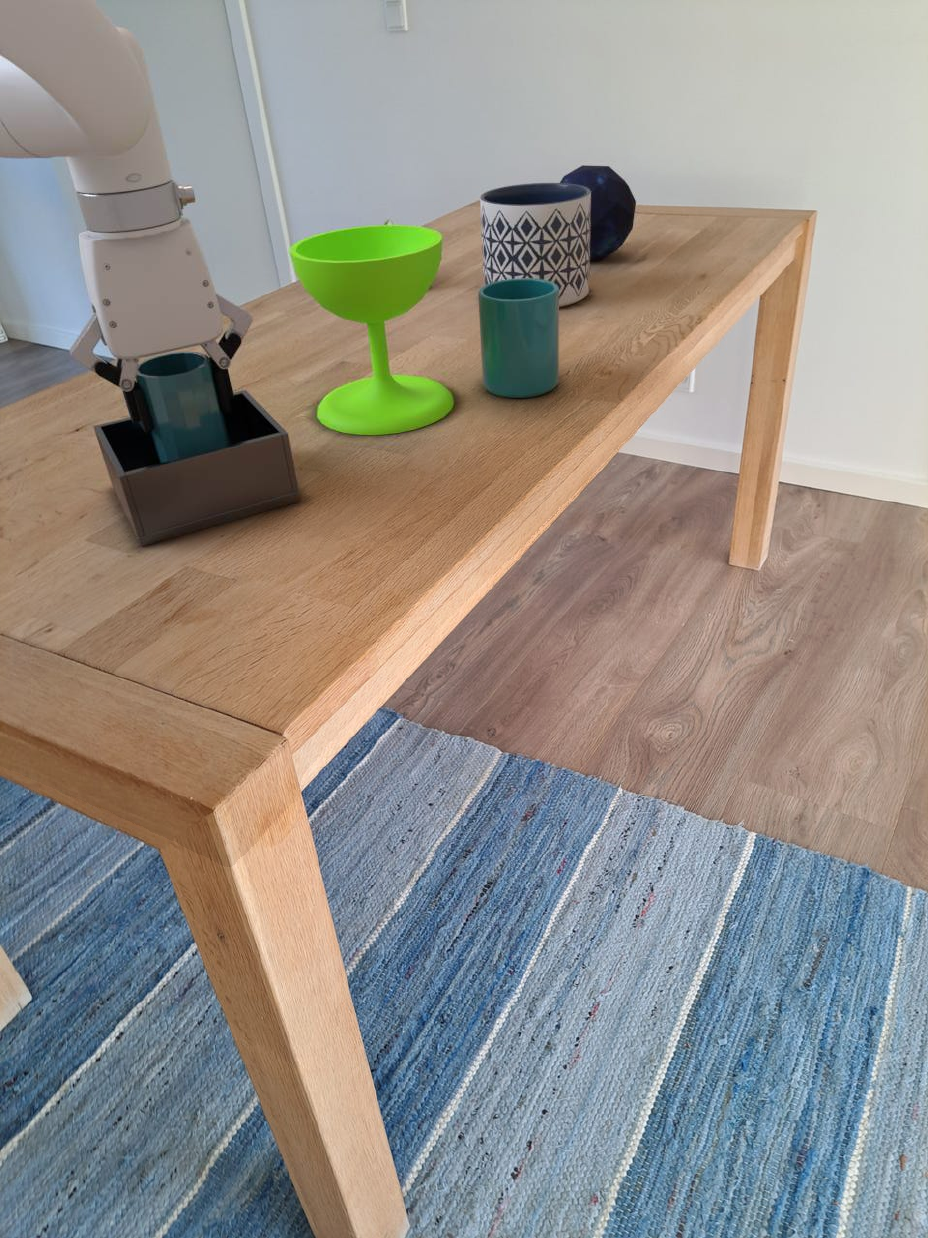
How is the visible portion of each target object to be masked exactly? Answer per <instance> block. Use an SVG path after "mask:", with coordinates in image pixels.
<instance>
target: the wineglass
mask: <svg viewBox="0 0 928 1238" xmlns="http://www.w3.org/2000/svg"><path fill="white" fill-rule="evenodd" d="M442 253H443V236H442V233H441V232H440V231H438V230H436V229H433V228H428V227H424V226H418V225H408V224H392V225H384V224H377V225H376V224H375V225H374V224H373V225H364V226H354V227H346V228H341V229H340V228H339V229H335V230H330V231H325V232H321V233H318V234H314V235H311V236H308V237H305V238H303V239H301V240H298V241H296V242H295V243H294V244H292V245H291V246H290V247H289V255H290V260H291V263H292V266H293V269H294V272H295V275H296V276H297V277H298V279H299V281H300V282H301V284H302V286H303V288H304V290H305V291H306V292H307V293H308V295H310V296H311V298H312V299H314V301H316V302H317V303H318V304H319V305H320V306H321V307H322V309H324V310H326V311H327V312H329V313H330V314H333V315H335V316H336V317H338V318H341V319H342V320H347V321H350V322H356V323H360V324H361V323H362V324H366V326H367V334H368V342H369V351H370V358H371V365H372V366H371V367H372V374H373V376H370V377H366V378H361V379H357V380H354V381H351V382H348V383H345V384H343V385H340V386H339V387H337V388H334V389H333V390H332V391H330V392H329V393H327V394H325V396H324V397H323V398H322V399H321V401H320V402H319V404H318V406H317V410H316V411H317V413H316V415H317V416H316V417H317V419H318V421H319V422H320V424H322V425H323V426H325V427H327V428H328V429H330V430H332V431H336V432H340V433H344V434H351V435H356V436H357V435H358V436H383V435H384V436H385V435H391V434H392V435H393V434H400V433H405V432H410V431H413V430H417V429H420V428H424V427H426V426H429V425H432V424H434V423H435V422H437V421H439V420H441V419H443V418H445V416H447V415H448V414H449V413H450V412H451V411H452V409H453V408H454V405H455V400H454V396H453V394H452V392H451V391H450V390H449V389H448V388H447V387H446V386H445V385H444V384H442V383H440V382H439V381H436V380H435V379H432V378H427V377H424V376H419V375H409V374H391V370H390V369H391V368H390V361H389V352H388V343H387V334H386V326H385V322H387V321H390V320H392V319H394V318H397V317H399V316H402V315H404V314H406V313H407V312H409V311H410V310H411V309H412V308H414V307H415V306H416V305H417V304H418V303H420V301H422V300H423V298H424V297H425V295H426V294H427V292H428V290H429V289H430V287H431V286H432V284H433V283H434V281H435V280H436V278H437V274H438V271H439V268H440V264H441V261H442Z"/></svg>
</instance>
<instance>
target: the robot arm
mask: <svg viewBox="0 0 928 1238" xmlns="http://www.w3.org/2000/svg"><path fill="white" fill-rule="evenodd" d="M166 150H167V149H166V145H165V141H164V135H163V133H162V127H161V124H160V120H159V115H158V111H157V106H156V102H155V98H154V93H153V89H152V85H151V81H150V76H149V72H148V67H147V64H146V59H145V56H144V52H143V48H142V46H141V44H140V42H139V40H138V38H137V37H136V36H135V34H134V33H133V32H131V31H130V30H129V29H127V28H125V27H121V26H116V25H115V24H114V23H113V22H112V20H111V19H110V18H109V17H108V15H107V14H106V13H105V12H104V10H103V9H102V8H101V7H100V5H99V4H98V3H97V2H96V1H95V0H0V158H3V159H51V158H65V159H66V163H67V166H68V170H69V173H70V177H71V180H72V183H73V186H74V190H75V191H76V192H75V194H76V197H77V200H78V203H79V207H80V211H81V214H82V218H83V221H84V225H85V227H86V231H83V232H80V233H79V234H78V244H79V255H80V260H81V267H82V271H83V276H84V281H85V285H86V290H87V295H88V298H89V302H90V306H91V309H92V316H91V317H90V319H89V320H88V321H87V323H86V324H85V326H84V327H83V328H82V331H81V332H80V334H79V335H78V337H77V338H76V340H75V341H74V342H73V343H72V345H71V347H70V349H69V354H70V356H71V358H72V359H73V360H74V361H75V362H76V363H78V364H80V365H81V366H82V367H84V368H86V369H88V370H90V371H92V372H93V373H94V374H96V375H98V377H100V378H102V379H104V380H106V381H107V382H109V383H111V384H113V385H114V386H116V387H118V388H119V389H120V390H121V391H122V395H123V398H124V401H125V404H126V408H127V411H128V415H129V417H131V420H132V422H133V423H134V422H138V421H139V423H140V424H141V426H142V428H143V429H144V431H145V432H150V431H151V430H152V429H153V427H152V423H151V420H150V416H149V413H148V409H147V406H146V402H145V399H144V395H143V392H142V390H141V388H140V387H139V385H138V384H137V381H136V372H137V367H138V364H139V363H140V359H142V358H146V357H151V356H157V355H162V354H166V353H171V352H175V351H179V350H183V349H188V348H191V347H197V346H201V348H202V349H203V350H204V352H205V354H206V355H207V356H208V357H209V358H210V362H211V366H212V370H213V375H214V379H215V383H216V388H217V392H218V396H219V401H220V405H221V409H222V411H223V412H225V413H227V412H231V407H230V402H229V399H233V398H234V394H233V393H234V391H233V386H232V381H231V376H230V372H229V368H230V367H231V365H232V360H233V358H234V356H235V355H236V353H237V351H238V350H239V348H240V347H241V346H242V341H243V338H244V337H245V336H246V334H247V332H248V331H249V329H250V328H251V325H252V324H253V321H254V320H253V319H254V318H253V316H252V315H251V314H250V313H249V312H248V311H246V310H244V309H243V308H242V307H240V306H238V305H236V304H234V303H233V302H231V301H229V300H228V299H227V298H225V297H224V296H222V295H220V294H218V293H217V292H216V289H215V286H214V283H213V280H212V277H211V273H210V271H209V268H208V264H207V261H206V258H205V255H204V252H203V249H202V247H201V244H200V241H199V239H198V236H197V235H196V231H195V229H194V227H193V225H192V223H191V221H190V219H189V218H188V217H184V216H183V215H184V213H183V210H184V207H185V206H188V204H193V203H196V196H195V192H194V189H193V186H192V185H191V184H188V185H182V184H178V183H176V181H175V180H174V179H173V176H172V171H171V167H170V161H169V158H168V154H167V151H166ZM222 315H223V316H225V317H227V318H228V319H230V324H229V327H228V329H227V330H226V331H225V332H224V322H223V317H222ZM223 332H224V333H223ZM222 334H223V335H222ZM221 335H222V337H221ZM220 337H221V338H220ZM218 338H220V340H219V341H218V342H217V339H218ZM100 340H101V342H102V344H103V345H104V346H106V347H107V348H108V351H109V352H110V354H111V356H113V357H114V358H116V360H115V364H113V363H112V362H109V361H108V360H105V359H104V358H102V357H100V356H98V355H97V354H95V353H94V349H95V348H96V346H97V344H98V343H99V342H100Z"/></svg>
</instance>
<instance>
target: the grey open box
mask: <svg viewBox="0 0 928 1238" xmlns="http://www.w3.org/2000/svg"><path fill="white" fill-rule="evenodd" d="M233 394H234V398H233V399H229V402H230V407H231V412H227V413H225V412H223V411H222V413H223V417H224V421H225V426H226V430H227V434H228V439H229V443H230V445H229V446H225V447H222V448H218V449H214V450H210V451H206V452H202V453H198V454H194V455H191V456H187V457H183V458H179V459H175V460H171V461H167V462H163V463H160V460H159V457H158V454H157V451H156V448H155V444H154V441H153V437H152V434H151V431H150V432H145V431H144V429H143V428H142V426H141V424H140V423H139V421H138V422H134V423H133V422H132V420H131V417H130V416H129V417H125V418H121V419H116V420H112V421H108V422H104V423H100V424H95V425H93V430H94V434H95V436H96V439H97V442H98V445H99V448H100V451H101V455H102V458H103V461H104V464H105V467H106V470H107V473H108V477H109V480H110V482H111V485H112V488H113V491H114V493H115V496H116V498H117V499H118V501H119V503H120V506H121V508H122V510H123V512H124V514H125V516H126V518H127V520H128V522H129V524H130V527H131V529H132V530H133V533H134V535H135V537H136V539H137V541H138V543H139V545H140V547H145V546H149V545H152V544H155V543H156V544H157V543H160V542H163V541H167V540H170V539H174V538H177V537H180V536H183V535H187V534H190V533H194V532H197V531H200V530H204V529H208V528H212V527H215V526H218V525H221V524H226V523H228V522H232V521H235V520H239V519H243V518H246V517H250V516H253V515H257V514H259V513H262V512H267V511H270V510H273V509H276V508H277V509H278V508H280V507H285V506H287V505H291V504H294V503H299V502H301V495H300V489H299V484H298V479H297V474H296V469H295V462H294V458H293V452H292V448H291V442H290V437H289V432H288V431H287V430H285V428H284V427H283V426H282V425H281V424H280V423H279V422H278V421H277V420H276V419H275V418H274V417H273V416H272V415H271V414H270V413H269V412H268V411H267V410H266V409H265V408H264V407H263V406H262V405H261V404H260V403H259V402H258V400H257V399H255V397H253V396H252V395H251V394H250V392H249V391H247V390H246V389H243V390H240V391H235V392H233Z"/></svg>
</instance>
